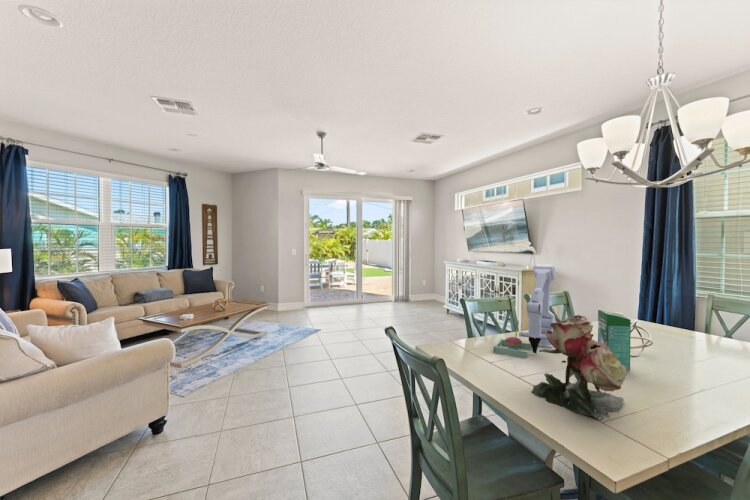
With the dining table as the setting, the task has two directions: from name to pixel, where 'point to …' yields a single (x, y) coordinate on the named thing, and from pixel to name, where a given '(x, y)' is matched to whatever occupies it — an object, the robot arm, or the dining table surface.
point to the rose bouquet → (582, 370)
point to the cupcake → (513, 342)
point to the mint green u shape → (512, 351)
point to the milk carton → (615, 335)
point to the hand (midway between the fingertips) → (534, 352)
